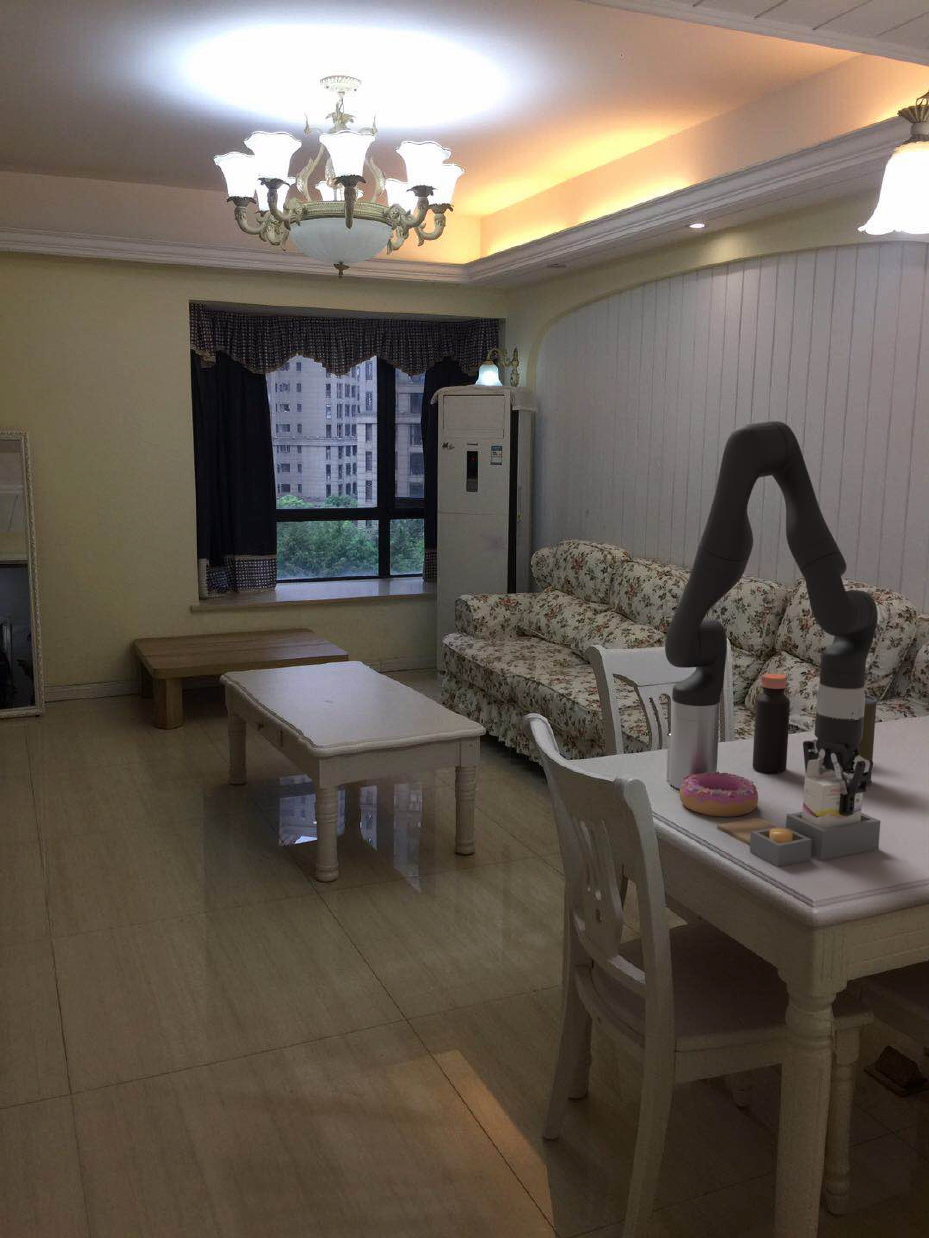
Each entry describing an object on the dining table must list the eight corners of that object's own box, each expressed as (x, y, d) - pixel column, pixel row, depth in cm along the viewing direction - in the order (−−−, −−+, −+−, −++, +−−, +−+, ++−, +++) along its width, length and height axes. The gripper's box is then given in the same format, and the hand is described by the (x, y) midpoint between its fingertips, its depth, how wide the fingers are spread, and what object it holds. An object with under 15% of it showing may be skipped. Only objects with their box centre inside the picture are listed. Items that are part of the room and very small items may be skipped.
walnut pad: (717, 827, 183) (717, 824, 183) (757, 820, 186) (757, 817, 186) (750, 845, 175) (750, 842, 175) (792, 837, 178) (792, 834, 178)
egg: (763, 850, 171) (765, 830, 171) (781, 847, 173) (782, 826, 172) (778, 858, 168) (780, 837, 167) (796, 854, 169) (797, 834, 169)
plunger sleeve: (749, 851, 172) (750, 831, 172) (781, 845, 175) (783, 825, 174) (777, 866, 166) (778, 845, 165) (810, 859, 169) (811, 839, 168)
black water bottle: (793, 770, 216) (798, 677, 213) (771, 776, 212) (776, 681, 209) (766, 762, 221) (771, 671, 218) (745, 767, 218) (750, 675, 214)
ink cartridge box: (818, 853, 171) (824, 768, 169) (799, 843, 176) (804, 759, 173) (860, 847, 174) (866, 763, 172) (840, 836, 179) (845, 754, 176)
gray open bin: (784, 842, 176) (786, 814, 175) (841, 832, 181) (842, 804, 180) (820, 860, 168) (822, 831, 168) (878, 849, 174) (880, 820, 173)
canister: (872, 791, 203) (879, 692, 200) (816, 785, 206) (822, 687, 203) (871, 775, 213) (878, 680, 210) (818, 770, 216) (823, 676, 213)
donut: (770, 818, 189) (772, 791, 188) (695, 821, 186) (697, 795, 186) (738, 792, 203) (739, 767, 202) (668, 795, 200) (669, 770, 200)
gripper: (792, 703, 176) (786, 798, 179) (855, 723, 163) (847, 826, 166) (826, 699, 179) (819, 793, 182) (890, 719, 166) (882, 820, 169)
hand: (833, 808), depth 174 cm, fingers closed on ink cartridge box, 5 cm apart
